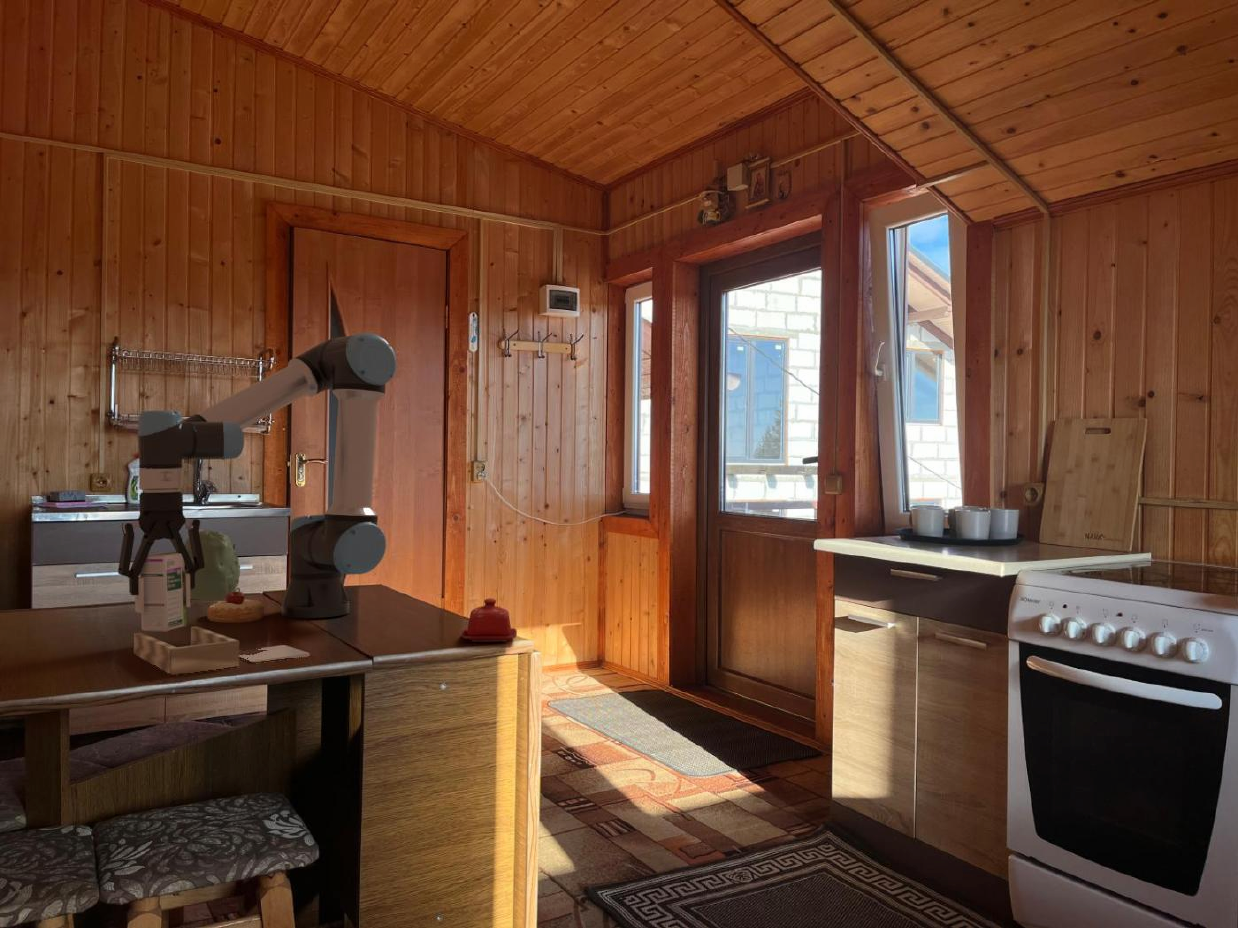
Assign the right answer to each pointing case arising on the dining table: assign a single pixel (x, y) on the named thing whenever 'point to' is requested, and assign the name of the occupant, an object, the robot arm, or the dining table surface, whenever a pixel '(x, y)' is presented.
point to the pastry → (236, 609)
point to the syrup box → (164, 592)
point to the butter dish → (489, 624)
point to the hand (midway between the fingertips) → (163, 608)
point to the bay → (189, 652)
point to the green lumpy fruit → (215, 567)
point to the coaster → (275, 654)
